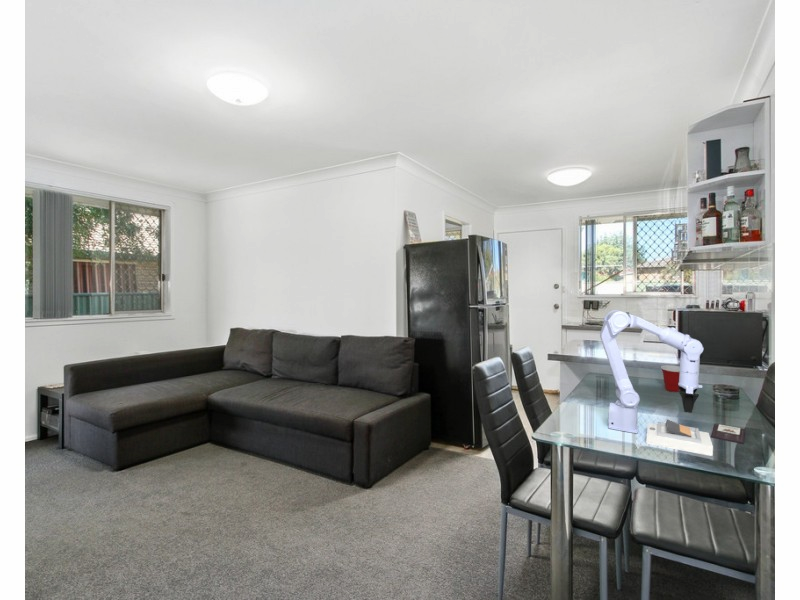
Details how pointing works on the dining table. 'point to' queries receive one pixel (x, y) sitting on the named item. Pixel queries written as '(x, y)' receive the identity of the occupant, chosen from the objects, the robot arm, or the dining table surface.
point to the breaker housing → (679, 439)
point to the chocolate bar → (728, 433)
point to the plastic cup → (671, 377)
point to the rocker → (678, 429)
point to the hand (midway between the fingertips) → (687, 409)
